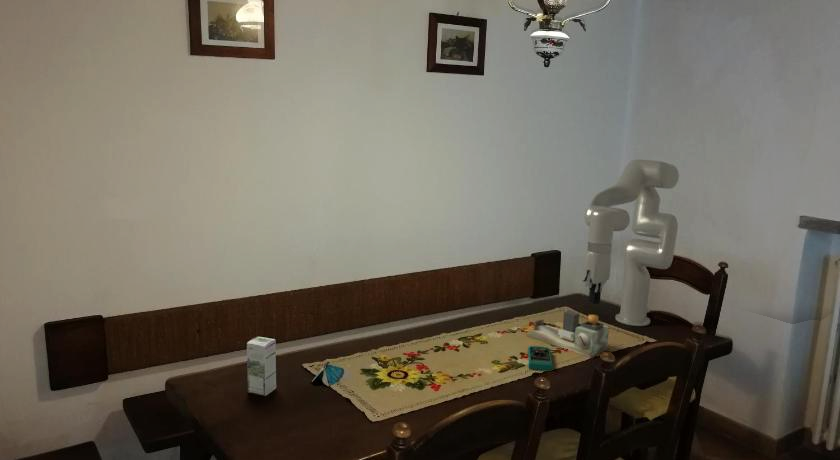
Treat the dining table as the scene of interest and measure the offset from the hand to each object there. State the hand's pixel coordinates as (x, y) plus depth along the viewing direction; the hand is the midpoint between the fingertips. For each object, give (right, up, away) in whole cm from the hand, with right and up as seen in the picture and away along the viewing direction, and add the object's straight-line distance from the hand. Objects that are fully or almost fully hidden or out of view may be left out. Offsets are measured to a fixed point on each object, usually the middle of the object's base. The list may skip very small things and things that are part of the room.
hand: (594, 302), depth 214 cm
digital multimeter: (-19, -18, -8) cm, 28 cm away
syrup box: (-100, -20, -36) cm, 108 cm away
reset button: (0, -6, +2) cm, 7 cm away
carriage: (-6, -13, +9) cm, 17 cm away
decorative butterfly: (-84, -19, -26) cm, 90 cm away
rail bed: (-7, -15, +10) cm, 19 cm away
